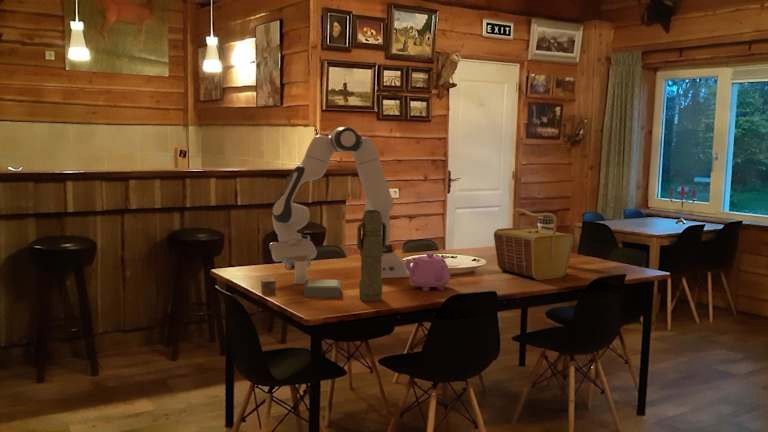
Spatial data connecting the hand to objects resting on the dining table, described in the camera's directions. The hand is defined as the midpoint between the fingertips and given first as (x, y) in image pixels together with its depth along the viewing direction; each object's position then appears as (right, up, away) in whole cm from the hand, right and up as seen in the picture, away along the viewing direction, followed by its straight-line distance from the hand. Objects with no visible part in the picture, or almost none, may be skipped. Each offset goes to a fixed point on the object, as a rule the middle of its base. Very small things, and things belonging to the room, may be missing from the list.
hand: (299, 266), depth 311 cm
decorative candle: (+118, -2, +59) cm, 132 cm away
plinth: (+12, -9, -19) cm, 24 cm away
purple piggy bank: (+55, -9, -7) cm, 56 cm away
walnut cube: (-10, -9, -19) cm, 23 cm away
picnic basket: (+106, -6, +30) cm, 110 cm away
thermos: (+31, -11, -28) cm, 43 cm away
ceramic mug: (-8, -2, +38) cm, 39 cm away
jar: (+1, -7, 0) cm, 7 cm away
